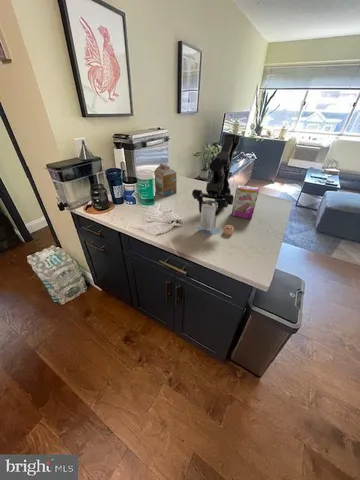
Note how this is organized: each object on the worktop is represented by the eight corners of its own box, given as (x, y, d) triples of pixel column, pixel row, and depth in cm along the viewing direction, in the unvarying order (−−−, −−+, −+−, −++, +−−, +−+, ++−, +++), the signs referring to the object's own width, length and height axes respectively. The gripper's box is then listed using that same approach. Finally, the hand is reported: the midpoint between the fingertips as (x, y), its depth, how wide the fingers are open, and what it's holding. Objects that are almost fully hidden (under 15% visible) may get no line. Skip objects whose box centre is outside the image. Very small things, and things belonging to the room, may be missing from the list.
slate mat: (212, 223, 103) (212, 223, 103) (221, 233, 96) (222, 232, 95) (195, 227, 100) (195, 226, 100) (204, 237, 93) (204, 236, 92)
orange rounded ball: (229, 230, 98) (230, 224, 96) (234, 235, 95) (235, 228, 92) (221, 232, 97) (222, 226, 94) (226, 237, 93) (227, 230, 91)
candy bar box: (230, 216, 110) (236, 187, 100) (232, 212, 114) (237, 184, 104) (251, 219, 107) (259, 190, 97) (252, 215, 111) (259, 187, 101)
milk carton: (155, 191, 138) (153, 163, 127) (168, 188, 143) (167, 161, 132) (163, 196, 131) (162, 167, 120) (176, 193, 136) (176, 164, 125)
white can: (210, 220, 99) (213, 199, 92) (218, 227, 94) (221, 205, 87) (197, 223, 97) (199, 201, 90) (204, 230, 91) (206, 208, 85)
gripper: (194, 171, 87) (185, 204, 85) (237, 176, 82) (228, 212, 80) (198, 183, 98) (190, 212, 96) (236, 188, 92) (228, 220, 90)
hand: (208, 214), depth 90 cm, fingers closed on white can, 7 cm apart
